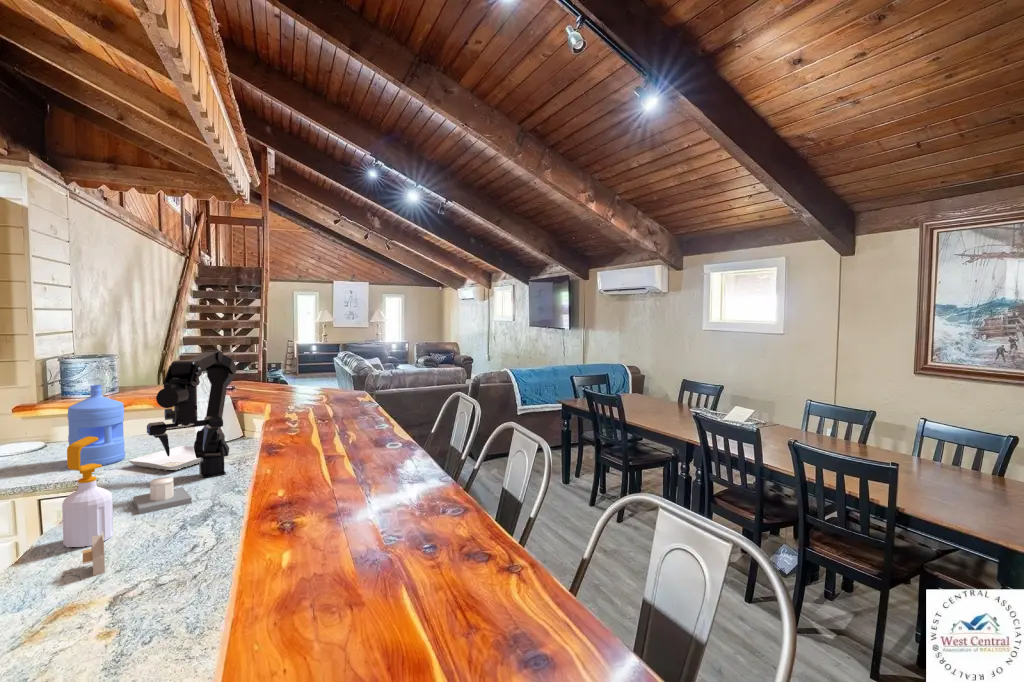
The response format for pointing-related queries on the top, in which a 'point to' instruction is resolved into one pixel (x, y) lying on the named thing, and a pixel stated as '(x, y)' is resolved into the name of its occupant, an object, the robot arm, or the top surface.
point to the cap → (161, 488)
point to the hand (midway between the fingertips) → (186, 453)
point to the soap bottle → (86, 503)
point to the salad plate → (168, 458)
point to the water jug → (98, 428)
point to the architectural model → (96, 555)
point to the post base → (161, 501)
